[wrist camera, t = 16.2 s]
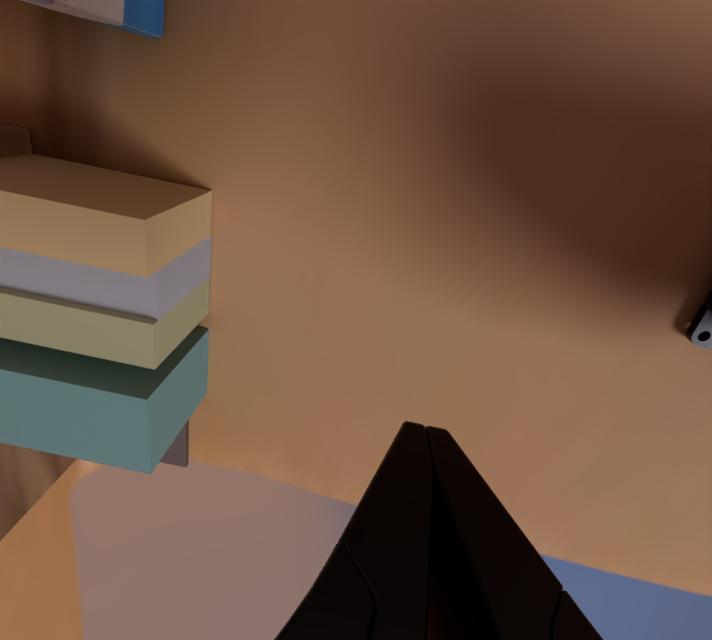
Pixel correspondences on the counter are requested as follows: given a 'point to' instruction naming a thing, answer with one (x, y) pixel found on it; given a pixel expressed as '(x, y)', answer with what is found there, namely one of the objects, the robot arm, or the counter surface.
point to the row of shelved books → (101, 259)
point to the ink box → (114, 13)
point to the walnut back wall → (9, 462)
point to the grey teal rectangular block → (99, 402)
